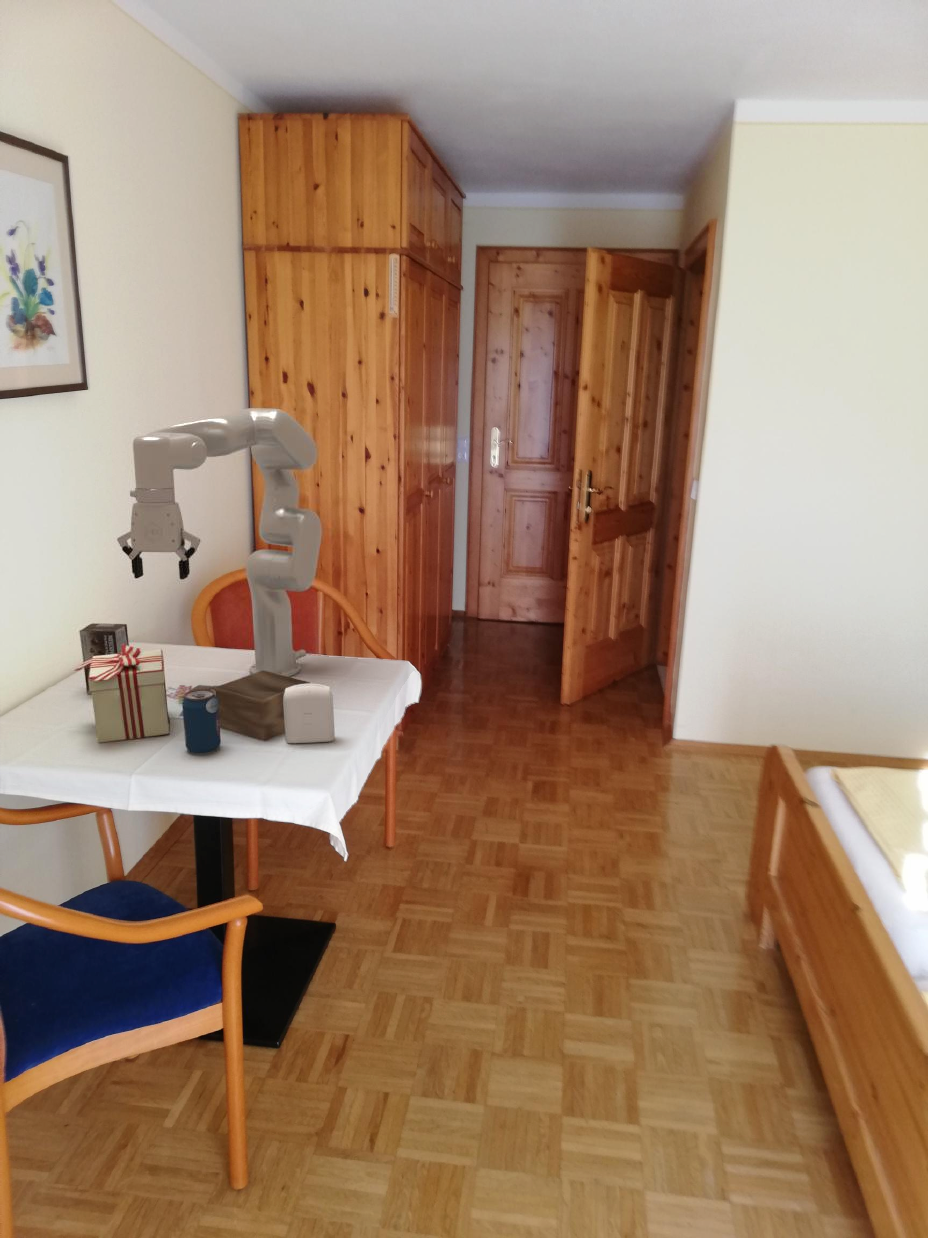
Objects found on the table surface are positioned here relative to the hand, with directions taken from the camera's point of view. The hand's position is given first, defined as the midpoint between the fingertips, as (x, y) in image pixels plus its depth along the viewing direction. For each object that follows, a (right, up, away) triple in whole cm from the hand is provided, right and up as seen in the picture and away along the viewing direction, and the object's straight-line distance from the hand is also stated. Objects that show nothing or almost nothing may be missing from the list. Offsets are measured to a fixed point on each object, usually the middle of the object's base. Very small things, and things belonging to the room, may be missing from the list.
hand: (161, 577), depth 196 cm
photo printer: (+32, -34, -1) cm, 47 cm away
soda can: (+11, -36, -6) cm, 38 cm away
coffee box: (-21, -26, +28) cm, 44 cm away
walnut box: (+20, -32, +7) cm, 38 cm away
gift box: (-9, -33, +4) cm, 34 cm away
